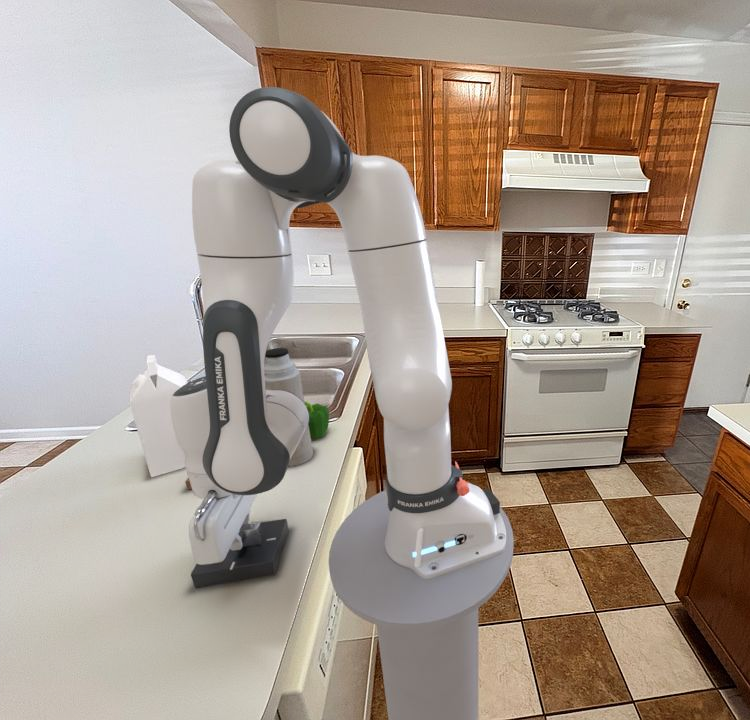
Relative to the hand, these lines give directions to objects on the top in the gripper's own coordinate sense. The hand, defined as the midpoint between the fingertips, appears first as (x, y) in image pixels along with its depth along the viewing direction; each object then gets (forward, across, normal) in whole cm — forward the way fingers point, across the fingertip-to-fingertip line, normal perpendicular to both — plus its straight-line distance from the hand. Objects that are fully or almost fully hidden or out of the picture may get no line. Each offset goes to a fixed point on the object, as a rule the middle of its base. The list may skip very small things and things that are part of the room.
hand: (241, 540), depth 68 cm
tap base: (+4, 0, 0) cm, 4 cm away
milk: (+4, +36, +27) cm, 45 cm away
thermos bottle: (+4, +31, -1) cm, 31 cm away
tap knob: (+1, 0, 0) cm, 1 cm away
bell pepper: (+4, +41, -4) cm, 41 cm away
